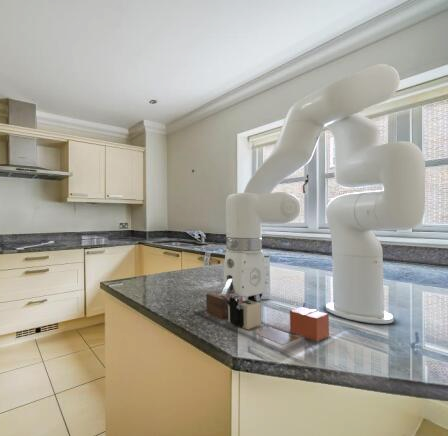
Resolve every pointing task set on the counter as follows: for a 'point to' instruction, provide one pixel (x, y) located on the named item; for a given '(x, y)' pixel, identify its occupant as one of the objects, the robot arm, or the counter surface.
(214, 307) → the dark wood block
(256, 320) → the cross-marked cream cube
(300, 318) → the orange block
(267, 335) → the word board
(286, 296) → the counter surface
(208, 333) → the counter surface
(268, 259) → the syrup box
